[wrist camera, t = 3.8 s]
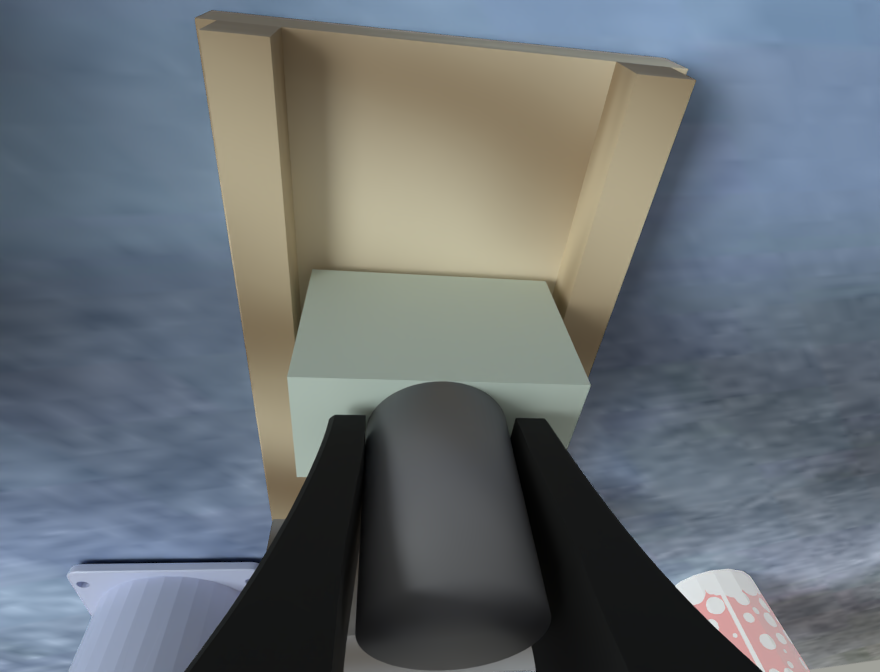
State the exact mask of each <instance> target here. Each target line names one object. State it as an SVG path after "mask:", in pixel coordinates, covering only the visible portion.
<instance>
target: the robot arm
mask: <svg viewBox="0 0 880 672" xmlns="http://www.w3.org/2000/svg"><path fill="white" fill-rule="evenodd" d="M365 431H366V415H334V416H332V417H331V418H329V421H328V425H327V428H326V432H325V434H324V437H323V440H322V443H321V446H320V448H319V451H318V453H317V455H316V458H315V460H314V462H313V465H312V467H311V469H310V471H309V474H308V476H307V478H306V480H305V482H304V484H303V486H302V488H301V490H300V492H299V494H298V496H297V498H296V500H295V502H294V504H293V506H292V508H291V510H290V512H289V513H288V515H287V517H286V519H285V521H284V522H283V524H282V526H281V527H280V529H279V531H278V533H277V534H276V536H275V538H274V540H273V541H272V543H271V545H270V547H269V548H268V550H267V552H266V554H265V555H264V557H263V559H262V560H261V562H260V563H256V562H201V563H124V564H77V565H74V566H72V567H71V568H70V570H69V572H68V574H67V578H68V580H69V581H70V583H71V584H72V586H73V588H74V589H75V591H76V592H77V594H78V596H79V597H80V599H81V600H82V602H83V604H84V605H85V607H86V608H87V610H88V611H89V613H90V615H91V616H92V618H91V620H90V623H89V625H88V627H87V630H86V632H85V634H84V636H83V639H82V641H81V643H80V646H79V648H78V650H77V653H76V655H75V657H74V659H73V662H72V664H71V666H70V669H69V671H68V672H344V662H345V652H346V642H347V635H348V628H349V621H350V613H351V606H352V599H353V592H354V585H355V577H356V570H357V563H358V556H359V549H360V530H361V511H362V492H363V477H364V458H365ZM510 439H511V444H512V448H513V452H514V457H515V461H516V465H517V470H518V474H519V478H520V483H521V487H522V491H523V496H524V500H525V504H526V509H527V513H528V517H529V522H530V526H531V530H532V535H533V539H534V543H535V548H536V552H537V556H538V560H539V565H540V569H541V573H542V578H543V582H544V586H545V591H546V595H547V599H548V604H549V608H550V613H551V623H550V626H549V628H548V630H547V631H546V633H545V634H544V635H543V636H542V637H541V639H539V640H538V641H537V642H536V643H535V644H533V645H532V651H533V656H534V662H535V669H536V672H763V671H762V670H761V669H760V668H759V667H758V666H756V665H755V664H754V663H753V662H752V661H751V660H750V659H749V658H748V657H747V656H746V655H744V654H743V653H742V652H741V651H740V650H739V649H738V648H737V647H736V646H735V645H734V644H733V643H731V642H730V641H729V640H728V639H727V638H726V637H725V636H724V635H723V634H722V633H721V632H719V631H718V630H717V629H716V628H715V627H714V626H713V625H712V624H711V623H710V622H709V621H708V620H707V619H706V618H705V617H704V616H703V615H702V614H701V613H700V612H699V611H698V610H697V609H696V608H695V607H694V606H693V605H692V604H691V603H690V602H689V600H688V599H687V598H686V597H685V596H684V595H683V594H682V593H681V592H680V591H679V590H678V589H677V588H676V587H675V586H674V585H673V583H672V582H671V581H670V580H669V579H668V578H667V577H666V576H665V575H664V574H663V573H662V571H661V570H660V569H659V568H658V567H657V566H656V565H655V564H654V562H653V561H652V560H651V559H650V558H649V557H648V556H647V554H646V553H645V552H644V551H643V550H642V549H641V547H640V546H639V545H638V544H637V543H636V541H635V540H634V539H633V538H632V537H631V535H630V534H629V533H628V532H627V531H626V529H625V528H624V527H623V525H622V524H621V523H620V522H619V520H618V519H617V518H616V517H615V515H614V514H613V513H612V512H611V510H610V509H609V508H608V506H607V505H606V504H605V502H604V501H603V500H602V498H601V497H600V496H599V494H598V493H597V492H596V490H595V489H594V488H593V486H592V485H591V484H590V482H589V481H588V480H587V478H586V477H585V475H584V474H583V473H582V471H581V470H580V468H579V467H578V465H577V464H576V463H575V461H574V460H573V458H572V457H571V455H570V454H569V453H568V451H567V450H566V448H565V447H564V445H563V444H562V442H561V441H560V439H559V438H558V436H557V435H556V433H555V432H554V430H553V429H552V427H551V426H550V424H549V423H548V422H547V421H546V419H545V418H516V419H515V423H514V426H513V430H512V434H511V438H510Z"/></svg>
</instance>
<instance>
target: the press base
mask: <svg viewBox="0 0 880 672" xmlns="http://www.w3.org/2000/svg"><path fill="white" fill-rule="evenodd" d="M195 24H196V30H197V37H198V43H199V50H200V56H201V63H202V69H203V76H204V82H205V88H206V95H207V101H208V108H209V114H210V121H211V127H212V134H213V140H214V147H215V153H216V160H217V166H218V173H219V179H220V186H221V192H222V199H223V205H224V212H225V218H226V225H227V231H228V238H229V244H230V250H231V257H232V263H233V270H234V276H235V283H236V289H237V296H238V302H239V309H240V315H241V322H242V328H243V335H244V341H245V348H246V354H247V361H248V367H249V374H250V380H251V387H252V393H253V400H254V406H255V412H256V419H257V425H258V432H259V438H260V445H261V451H262V458H263V464H264V471H265V477H266V484H267V490H268V497H269V503H270V510H271V516H272V526H271V531H270V536H269V541H268V546H267V550H268V548H269V547H270V545H271V543H272V541H273V540H274V538H275V536H276V534H277V533H278V531H279V529H280V527H281V526H282V524H283V522H284V521H285V519H286V517H287V515H288V513H289V512H290V510H291V508H292V506H293V504H294V502H295V500H296V498H297V496H298V494H299V492H300V490H301V488H302V486H303V484H304V482H305V480H306V478H307V477H297V474H296V464H295V453H294V443H293V433H292V423H291V412H290V402H289V392H288V382H287V375H288V371H289V366H290V362H291V358H292V354H293V349H294V345H295V341H296V337H297V332H298V328H299V324H300V320H301V315H302V311H303V307H304V303H305V298H306V294H307V290H308V286H309V281H310V277H311V273H312V269H317V270H337V271H356V272H376V273H395V274H415V275H435V276H454V277H474V278H493V279H513V280H532V281H546V283H547V285H548V288H549V290H550V292H551V295H552V297H553V299H554V302H555V304H556V306H557V308H558V311H559V313H560V315H561V318H562V320H563V322H564V325H565V327H566V329H567V331H568V334H569V336H570V338H571V341H572V343H573V345H574V348H575V350H576V352H577V354H578V357H579V359H580V361H581V364H582V366H583V368H584V371H585V373H586V375H587V377H589V374H590V371H591V368H592V365H593V363H594V360H595V357H596V354H597V352H598V349H599V346H600V343H601V341H602V338H603V335H604V332H605V330H606V327H607V324H608V321H609V319H610V316H611V313H612V310H613V308H614V305H615V302H616V299H617V297H618V294H619V291H620V288H621V286H622V283H623V280H624V277H625V275H626V272H627V269H628V266H629V264H630V261H631V258H632V255H633V253H634V250H635V247H636V244H637V242H638V239H639V236H640V233H641V231H642V228H643V225H644V222H645V220H646V217H647V214H648V211H649V209H650V206H651V203H652V200H653V198H654V195H655V192H656V189H657V187H658V184H659V181H660V178H661V176H662V173H663V170H664V167H665V164H666V162H667V159H668V156H669V153H670V151H671V148H672V145H673V142H674V140H675V137H676V134H677V131H678V129H679V126H680V123H681V120H682V118H683V115H684V112H685V109H686V107H687V104H688V101H689V98H690V96H691V93H692V90H693V87H694V85H695V82H696V80H695V79H693V78H691V77H689V76H687V75H686V74H687V71H688V69H687V68H685V67H683V66H680V65H678V64H676V63H674V62H672V61H670V60H668V59H666V58H659V57H649V56H640V55H630V54H621V53H612V52H602V51H593V50H583V49H574V48H564V47H555V46H545V45H536V44H526V43H517V42H507V41H498V40H489V39H479V38H470V37H460V36H451V35H441V34H432V33H422V32H413V31H403V30H394V29H385V28H375V27H366V26H356V25H347V24H337V23H328V22H318V21H309V20H299V19H290V18H280V17H271V16H262V15H252V14H243V13H233V12H224V11H214V10H211V11H209V12H207V13H204V14H202V15H200V16H198V17H196V18H195ZM266 552H267V551H266ZM358 568H359V556H358V563H357V570H356V577H355V585H354V592H353V599H352V606H351V613H350V621H349V628H348V635H347V642H346V652H345V662H344V672H506V671H532V670H536V669H535V662H534V656H533V651H532V646H530V647H529V648H527V649H526V650H524V651H522V652H520V653H518V654H516V655H514V656H511V657H509V658H506V659H503V660H501V661H498V662H494V663H491V664H487V665H482V666H478V667H472V668H467V669H458V670H445V671H428V670H414V669H407V668H401V667H397V666H393V665H389V664H386V663H384V662H381V661H379V660H377V659H374V658H373V657H371V656H370V655H368V654H367V653H366V652H364V651H363V650H362V649H361V647H360V646H359V645H358V643H357V641H356V637H355V624H356V606H357V587H358Z"/></svg>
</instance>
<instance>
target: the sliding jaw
mask: <svg viewBox="0 0 880 672" xmlns="http://www.w3.org/2000/svg"><path fill="white" fill-rule="evenodd" d="M287 382H288V392H289V402H290V412H291V423H292V433H293V443H294V453H295V464H296V474H297V477H307V476H308V474H309V471H310V469H311V467H312V465H313V462H314V460H315V458H316V455H317V453H318V451H319V448H320V446H321V443H322V440H323V437H324V434H325V432H326V428H327V425H328V421H329V418H331V417H332V416H334V415H366V431H365V458H364V477H363V492H362V511H361V530H360V549H359V568H358V587H357V606H356V624H355V637H356V641H357V643H358V645H359V646H360V647H361V649H362V650H363V651H364V652H366V653H367V654H368V655H370V656H371V657H373V658H374V659H377V660H379V661H381V662H384V663H386V664H389V665H393V666H397V667H401V668H407V669H414V670H428V671H445V670H458V669H467V668H472V667H478V666H482V665H487V664H491V663H494V662H498V661H501V660H503V659H506V658H509V657H511V656H514V655H516V654H518V653H520V652H522V651H524V650H526V649H527V648H529V647H530V646H532V645H533V644H535V643H536V642H537V641H538V640H539V639H541V637H542V636H543V635H544V634H545V633H546V631H547V630H548V628H549V626H550V623H551V613H550V608H549V604H548V599H547V595H546V591H545V586H544V582H543V578H542V573H541V569H540V565H539V560H538V556H537V552H536V548H535V543H534V539H533V535H532V530H531V526H530V522H529V517H528V513H527V509H526V504H525V500H524V496H523V491H522V487H521V483H520V478H519V474H518V470H517V465H516V461H515V457H514V452H513V448H512V444H511V439H510V438H511V434H512V430H513V426H514V423H515V419H516V418H545V419H546V421H547V422H548V423H549V424H550V426H551V427H552V429H553V430H554V432H555V433H556V435H557V436H558V438H559V439H560V441H561V442H562V444H563V445H564V447H565V448H566V450H567V448H568V445H569V443H570V440H571V437H572V435H573V432H574V429H575V427H576V424H577V421H578V419H579V416H580V413H581V411H582V408H583V405H584V402H585V400H586V397H587V394H588V392H589V389H590V386H591V384H590V382H589V380H588V377H587V375H586V373H585V371H584V368H583V366H582V364H581V361H580V359H579V357H578V354H577V352H576V350H575V348H574V345H573V343H572V341H571V338H570V336H569V334H568V331H567V329H566V327H565V325H564V322H563V320H562V318H561V315H560V313H559V311H558V308H557V306H556V304H555V302H554V299H553V297H552V295H551V292H550V290H549V288H548V285H547V283H546V281H532V280H513V279H493V278H474V277H454V276H435V275H415V274H395V273H376V272H356V271H337V270H317V269H312V273H311V277H310V281H309V286H308V290H307V294H306V298H305V303H304V307H303V311H302V315H301V320H300V324H299V328H298V332H297V337H296V341H295V345H294V349H293V354H292V358H291V362H290V366H289V371H288V375H287Z"/></svg>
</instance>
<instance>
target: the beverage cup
mask: <svg viewBox="0 0 880 672" xmlns="http://www.w3.org/2000/svg"><path fill="white" fill-rule="evenodd" d="M675 587H676V588H677V589H678V590H679V591H680V592H681V593H682V594H683V595H684V596H685V597H686V598H687V599H688V600H689V602H690V603H691V604H692V605H693V606H694V607H695V608H696V609H697V610H698V611H699V612H700V613H701V614H702V615H703V616H704V617H705V618H706V619H707V620H708V621H709V622H710V623H711V624H712V625H713V626H714V627H715V628H716V629H717V630H718V631H719V632H721V633H722V634H723V635H724V636H725V637H726V638H727V639H728V640H729V641H730V642H731V643H733V644H734V645H735V646H736V647H737V648H738V649H739V650H740V651H741V652H742V653H743V654H744V655H746V656H747V657H748V658H749V659H750V660H751V661H752V662H753V663H754V664H755V665H756V666H758V667H759V668H760V669H761V670H762V671H763V672H810V671H809V669H808V667H807V666H806V664H805V663H804V661H803V659H802V658H801V656H800V655H799V653H798V651H797V650H796V648H795V647H794V645H793V643H792V642H791V640H790V639H789V637H788V635H787V634H786V632H785V631H784V629H783V627H782V626H781V624H780V623H779V621H778V619H777V618H776V616H775V615H774V613H773V612H772V610H771V608H770V607H769V605H768V604H767V602H766V600H765V599H764V597H763V596H762V594H761V592H760V591H759V589H758V588H757V586H756V584H755V583H754V581H753V580H752V578H751V576H749V575H748V574H746V573H745V572H743V571H739V570H733V569H722V570H712V571H708V572H704V573H700V574H697V575H694V576H692V577H689V578H687V579H685V580H683V581H681V582H679V583H678V584H677V585H676V586H675Z"/></svg>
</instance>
